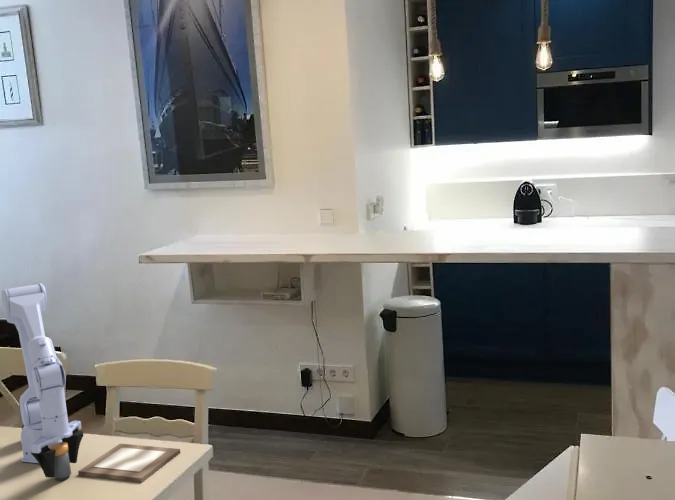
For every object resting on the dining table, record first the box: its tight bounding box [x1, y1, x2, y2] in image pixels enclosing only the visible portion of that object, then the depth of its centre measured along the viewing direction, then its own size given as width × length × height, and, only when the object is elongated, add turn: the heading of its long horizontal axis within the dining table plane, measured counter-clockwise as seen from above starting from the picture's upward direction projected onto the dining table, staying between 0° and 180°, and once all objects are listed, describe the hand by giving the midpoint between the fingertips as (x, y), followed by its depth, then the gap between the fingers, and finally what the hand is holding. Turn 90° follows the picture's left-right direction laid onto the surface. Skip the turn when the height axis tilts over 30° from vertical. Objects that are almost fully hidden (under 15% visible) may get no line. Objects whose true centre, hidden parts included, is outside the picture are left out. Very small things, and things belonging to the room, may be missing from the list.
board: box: [77, 443, 181, 483], centre depth 175 cm, size 18×16×1 cm
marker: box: [49, 442, 72, 482], centre depth 170 cm, size 4×4×8 cm
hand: (61, 469), depth 170 cm, fingers open, 7 cm apart
